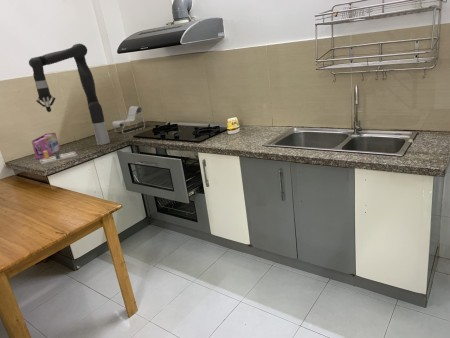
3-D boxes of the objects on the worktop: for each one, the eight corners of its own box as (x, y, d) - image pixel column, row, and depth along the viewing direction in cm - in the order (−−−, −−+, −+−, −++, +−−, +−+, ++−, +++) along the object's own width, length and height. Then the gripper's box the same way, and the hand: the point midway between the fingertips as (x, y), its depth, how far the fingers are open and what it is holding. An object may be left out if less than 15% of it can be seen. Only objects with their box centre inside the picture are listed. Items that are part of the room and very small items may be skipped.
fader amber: (48, 157, 253) (46, 150, 251) (49, 158, 250) (47, 151, 248) (45, 158, 252) (43, 151, 250) (45, 159, 249) (43, 152, 247)
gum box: (45, 158, 256) (40, 140, 252) (35, 159, 257) (29, 141, 252) (60, 149, 279) (55, 132, 274) (50, 150, 279) (45, 133, 275)
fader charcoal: (59, 156, 251) (57, 149, 249) (60, 157, 248) (58, 150, 246) (55, 157, 250) (53, 150, 248) (56, 158, 247) (54, 151, 245)
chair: (146, 127, 320) (141, 106, 313) (121, 134, 304) (116, 112, 297) (138, 126, 329) (134, 105, 323) (114, 133, 313) (109, 111, 307)
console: (74, 152, 263) (74, 150, 262) (77, 155, 253) (77, 153, 252) (39, 160, 252) (39, 158, 251) (41, 164, 242) (40, 162, 241)
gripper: (52, 85, 251) (58, 109, 257) (31, 88, 245) (38, 113, 251) (53, 86, 245) (59, 110, 251) (32, 89, 239) (39, 114, 245)
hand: (49, 111), depth 251 cm, fingers closed
